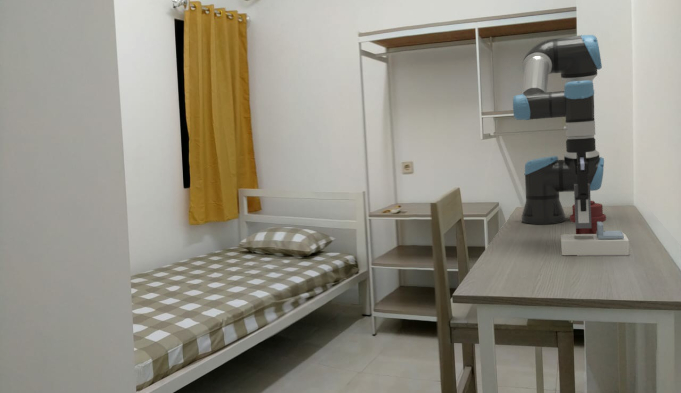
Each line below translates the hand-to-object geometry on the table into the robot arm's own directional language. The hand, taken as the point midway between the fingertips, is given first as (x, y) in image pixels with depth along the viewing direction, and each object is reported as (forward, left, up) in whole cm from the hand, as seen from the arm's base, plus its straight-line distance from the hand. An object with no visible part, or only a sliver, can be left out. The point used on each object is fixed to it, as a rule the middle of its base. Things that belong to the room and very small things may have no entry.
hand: (583, 221), depth 173 cm
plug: (0, 0, -2) cm, 2 cm away
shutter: (0, +7, -4) cm, 8 cm away
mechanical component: (-13, +2, -9) cm, 16 cm away
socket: (0, +2, -9) cm, 9 cm away
